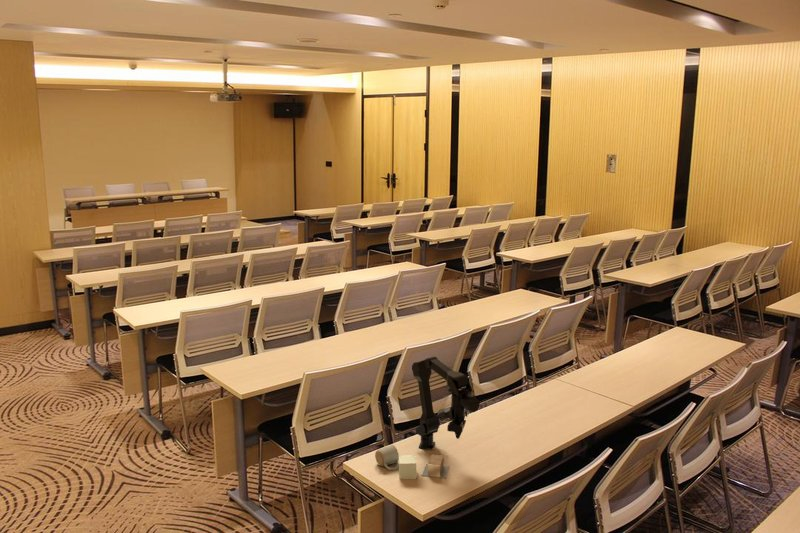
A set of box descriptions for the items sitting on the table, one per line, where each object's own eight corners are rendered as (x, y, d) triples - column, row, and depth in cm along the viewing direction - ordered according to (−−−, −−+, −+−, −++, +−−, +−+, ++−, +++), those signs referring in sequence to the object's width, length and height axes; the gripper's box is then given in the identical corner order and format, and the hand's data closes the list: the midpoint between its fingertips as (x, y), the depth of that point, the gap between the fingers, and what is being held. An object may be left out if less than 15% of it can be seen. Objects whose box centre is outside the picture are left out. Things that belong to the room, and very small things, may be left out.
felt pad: (426, 464, 292) (426, 464, 292) (449, 466, 290) (449, 466, 290) (421, 476, 283) (421, 475, 283) (445, 478, 280) (445, 478, 280)
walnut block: (427, 475, 283) (431, 465, 291) (439, 477, 281) (443, 466, 290) (427, 464, 282) (431, 454, 290) (439, 465, 280) (443, 455, 289)
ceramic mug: (374, 462, 294) (373, 446, 293) (390, 457, 299) (390, 441, 297) (386, 473, 286) (386, 456, 284) (403, 468, 290) (403, 451, 288)
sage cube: (398, 470, 287) (398, 455, 286) (415, 470, 288) (415, 455, 286) (399, 479, 281) (399, 463, 279) (416, 478, 281) (416, 463, 279)
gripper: (442, 393, 297) (442, 427, 300) (435, 411, 279) (435, 446, 283) (468, 395, 295) (467, 429, 298) (462, 413, 277) (461, 449, 280)
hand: (457, 438), depth 290 cm, fingers closed
